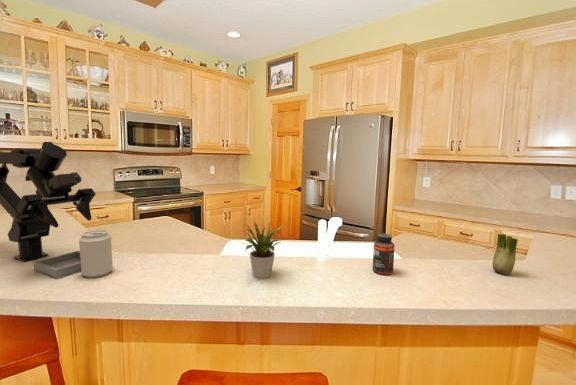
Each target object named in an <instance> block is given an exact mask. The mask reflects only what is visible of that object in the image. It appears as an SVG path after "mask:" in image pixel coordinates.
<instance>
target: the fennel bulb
mask: <svg viewBox="0 0 576 385" xmlns="http://www.w3.org/2000/svg"><path fill="white" fill-rule="evenodd" d="M496 241H497V243H496V248H495V252H494V254H493V259H492V269H493V270H494V272H497V273H498V274H500V275H506V276H507V275H511V274H512V272H513V270H514V267H515V263H516V253H517V245H518V238H516V237H513V236H511V235H507V234H504V233H498V234H497V240H496Z"/></svg>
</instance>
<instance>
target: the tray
mask: <svg viewBox="0 0 576 385" xmlns="http://www.w3.org/2000/svg"><path fill="white" fill-rule="evenodd" d="M33 269H34V271H35V272H36V273H39V274H42V275H44V276H47V277H49V278H52V279H55V280H59V279H61V278H64V277H67V276H70V275H74V274H78V273H81V259H80V250H75V251H71V252H67V253H63V254H59V255H56V256H55V255H54V256H51V257H48V258H43V259H40V260H36V261H34V262H33Z"/></svg>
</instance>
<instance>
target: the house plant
mask: <svg viewBox="0 0 576 385" xmlns="http://www.w3.org/2000/svg"><path fill="white" fill-rule="evenodd" d="M266 221H267V219H265V220H264V223H263V226H262V232H261V231H260V229H259V227H258V224H257V223H256V222H255V221H253V222H252V224H253V226H254V228H255V232H256V236H255V234H254V232H253V230H252V229H251V227H250V226H249V225H248V224H247V223H246V222H243V221H239V223H242V224H244V225H246V226H247V228H246V227H245V228H244V227H243V229H245V230H247V231H248V232H249V233H250V234H249V233H247V232H246V231H244V230H242V232H244V233H245V234H246V235H247V236H248V238H246V239H245V240H244V241H246V242H247V245H246V247H245V252H246V251H247V250H249V249H252V247H253V249H254V250H252V251H251V252H250V253H249V259H250V263H251V264H250V265H251V271H252V276H253V277H254V278H256V279H267V278H269V277H271V275H272V272H273V265H274V261H275V260H274V259H275V255H276V254H275V252H274V251H275V246H276V245H277V244H282V242H280V241H282V239H281V240H280V239H272V238H273V237H274V236H275V234H277V233H278V231H279V230H280V229H281V228H283V227H284V226H285V224H283V225H280V226H279V227H278V228H276V229H275V230H274V231H273V232H271V230H272V223H270V224H269V223H268V224H267V226H268V225H269V227H268V229H267V232H266V235H264V234H265V229H266V228H267V226H265V227H264V225H265V223H266ZM251 235H252V237H253V238H252V237H251ZM254 240H255V241H254ZM278 241H279V242H278ZM275 242H276V243H275ZM248 243H249V245H248ZM242 244H246V243H244V242H242Z"/></svg>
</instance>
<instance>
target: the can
mask: <svg viewBox="0 0 576 385" xmlns="http://www.w3.org/2000/svg"><path fill="white" fill-rule="evenodd" d="M108 232H109V231H108V230H106V229H92V230H87V231H84V232H81V237H79V239H78V241H79V242H78V244H79V251H80V259H81V272H80V273H81V275H83V276H85V277H86V278H91V279H92V278H99V277H104V276H106V275H108V274H109V273H110V272H111V271H112V270H113V268H114V267H113V266H114V265H113V250H112V249H113V248H112V235H111V234H109V233H108Z"/></svg>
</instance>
